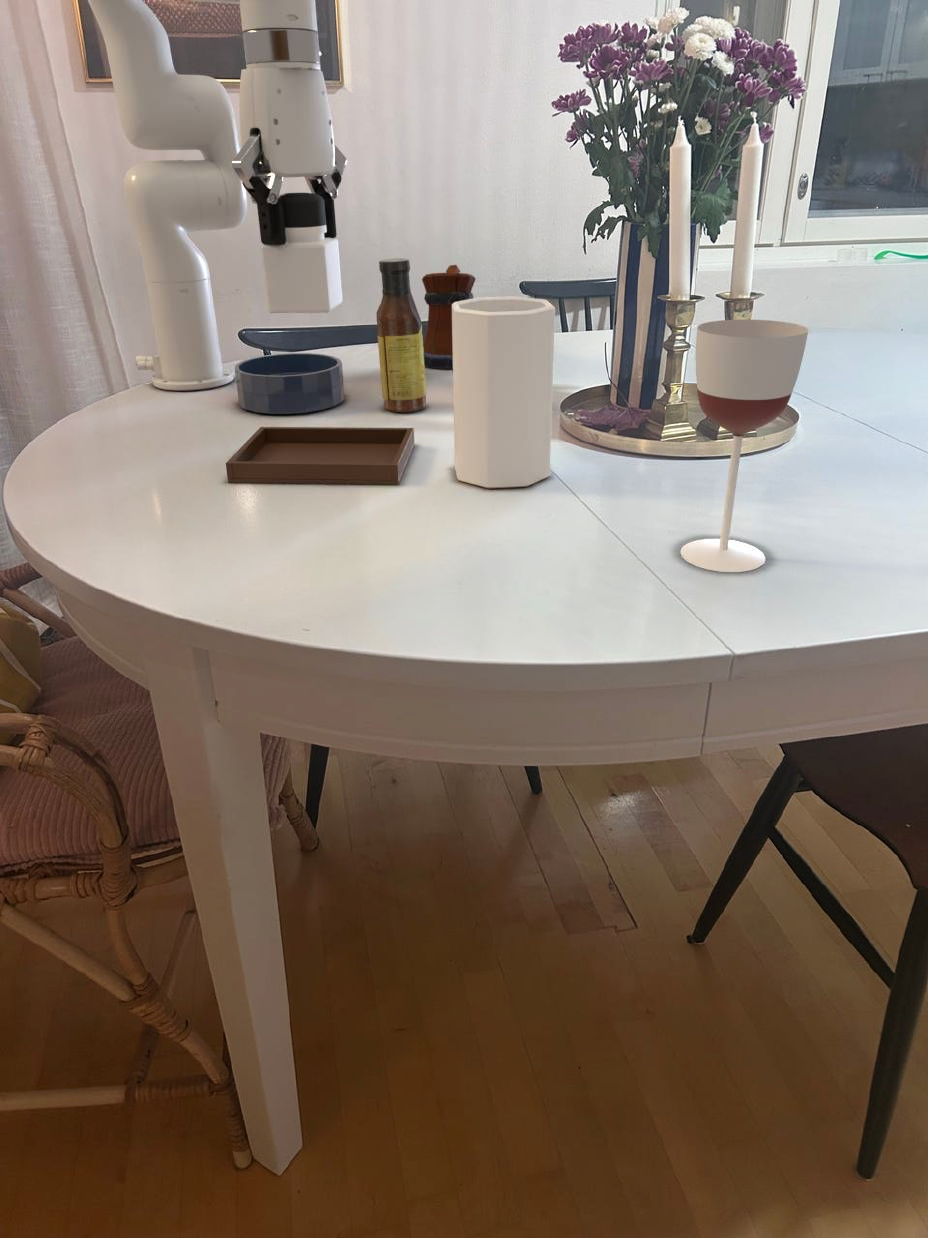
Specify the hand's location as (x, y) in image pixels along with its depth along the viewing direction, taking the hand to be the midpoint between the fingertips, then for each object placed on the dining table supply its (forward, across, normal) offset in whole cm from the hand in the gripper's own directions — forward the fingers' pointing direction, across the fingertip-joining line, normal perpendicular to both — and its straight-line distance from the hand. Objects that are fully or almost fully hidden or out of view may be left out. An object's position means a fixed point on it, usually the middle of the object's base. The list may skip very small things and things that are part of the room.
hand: (299, 239), depth 101 cm
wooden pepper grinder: (+24, -52, -16) cm, 60 cm away
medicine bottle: (+7, 0, 0) cm, 7 cm away
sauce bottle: (+24, -21, -3) cm, 33 cm away
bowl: (+24, -16, -19) cm, 35 cm away
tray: (+24, +3, +4) cm, 25 cm away
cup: (+24, -4, +24) cm, 34 cm away
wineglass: (+25, +4, +53) cm, 59 cm away
